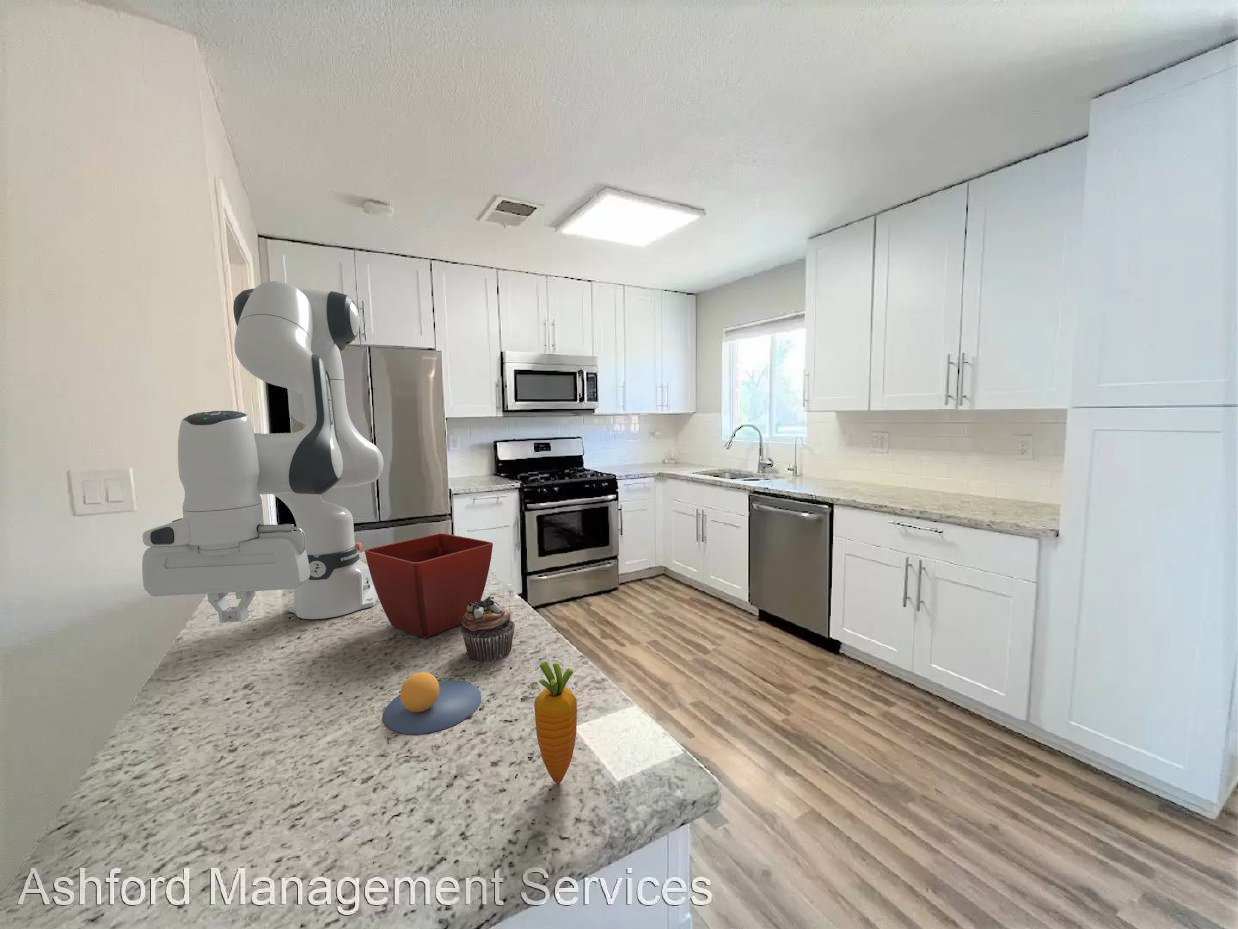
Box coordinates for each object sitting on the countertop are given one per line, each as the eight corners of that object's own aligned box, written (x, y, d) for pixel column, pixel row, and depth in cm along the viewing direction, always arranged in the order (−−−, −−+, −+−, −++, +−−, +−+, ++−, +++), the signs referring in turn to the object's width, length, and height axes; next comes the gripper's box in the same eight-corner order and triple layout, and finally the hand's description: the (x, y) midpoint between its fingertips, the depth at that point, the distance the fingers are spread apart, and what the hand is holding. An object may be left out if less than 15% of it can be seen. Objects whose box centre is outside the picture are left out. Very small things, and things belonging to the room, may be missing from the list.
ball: (450, 677, 78) (433, 707, 78) (419, 659, 78) (402, 689, 78) (438, 694, 72) (420, 727, 73) (405, 676, 72) (386, 708, 72)
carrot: (587, 781, 60) (584, 661, 58) (555, 805, 56) (552, 678, 55) (559, 762, 63) (556, 648, 62) (528, 784, 60) (523, 663, 58)
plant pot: (444, 600, 121) (441, 531, 120) (498, 616, 110) (495, 542, 109) (367, 627, 106) (362, 549, 104) (420, 650, 95) (415, 563, 93)
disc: (400, 684, 83) (400, 683, 82) (487, 678, 84) (487, 677, 84) (368, 738, 69) (368, 737, 69) (472, 729, 70) (472, 728, 70)
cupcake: (480, 670, 87) (478, 614, 86) (453, 652, 94) (450, 600, 93) (526, 651, 94) (524, 599, 93) (497, 636, 101) (495, 587, 100)
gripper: (314, 518, 75) (321, 608, 76) (165, 524, 73) (174, 616, 74) (292, 528, 69) (299, 625, 70) (128, 534, 66) (139, 634, 68)
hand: (234, 620), depth 72 cm, fingers closed
